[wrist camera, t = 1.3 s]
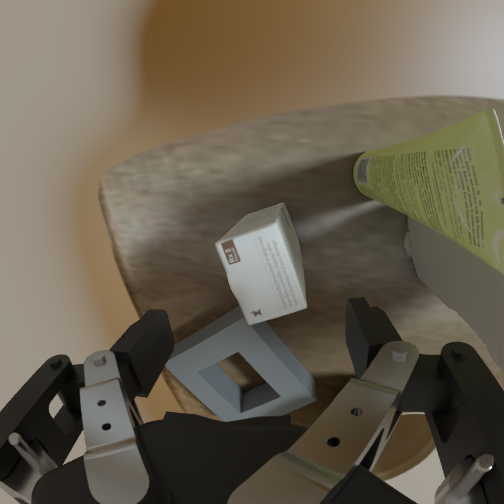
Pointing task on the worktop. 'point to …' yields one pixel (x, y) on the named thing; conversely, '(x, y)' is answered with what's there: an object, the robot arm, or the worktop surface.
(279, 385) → the socket frame
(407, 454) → the planter bowl
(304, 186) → the worktop surface
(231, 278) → the skincare box
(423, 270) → the tall pale column
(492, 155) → the tube
